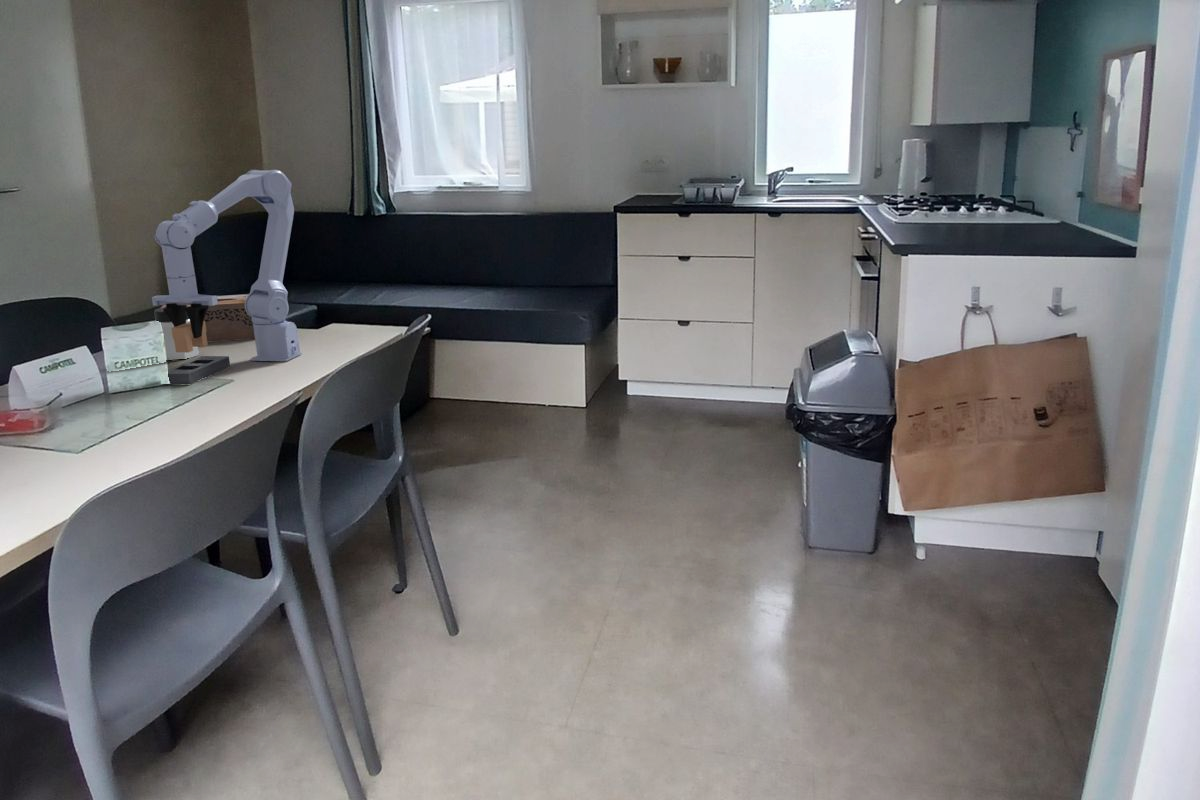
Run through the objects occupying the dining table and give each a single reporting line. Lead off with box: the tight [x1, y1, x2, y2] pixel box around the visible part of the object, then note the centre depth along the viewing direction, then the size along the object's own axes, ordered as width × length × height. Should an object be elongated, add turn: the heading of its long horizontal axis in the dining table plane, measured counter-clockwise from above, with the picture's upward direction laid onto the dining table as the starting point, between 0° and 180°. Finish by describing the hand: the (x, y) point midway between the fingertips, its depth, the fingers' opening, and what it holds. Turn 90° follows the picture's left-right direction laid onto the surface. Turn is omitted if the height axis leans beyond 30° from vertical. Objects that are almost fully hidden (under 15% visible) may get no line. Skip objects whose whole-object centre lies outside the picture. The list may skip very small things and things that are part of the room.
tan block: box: [171, 321, 209, 353], centre depth 203 cm, size 8×3×6 cm, turn 170°
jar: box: [153, 306, 200, 361], centre depth 223 cm, size 9×8×12 cm
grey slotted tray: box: [167, 355, 231, 385], centre depth 206 cm, size 16×7×2 cm, turn 170°
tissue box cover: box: [160, 293, 255, 343], centre depth 247 cm, size 26×14×10 cm, turn 103°
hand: (190, 337), depth 204 cm, fingers closed on tan block, 3 cm apart
